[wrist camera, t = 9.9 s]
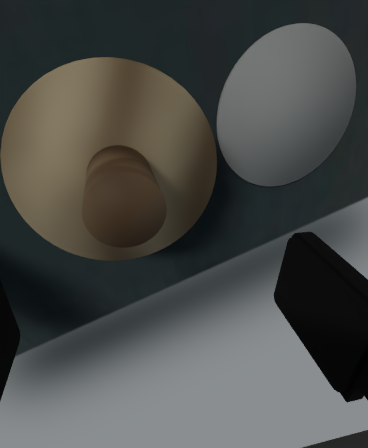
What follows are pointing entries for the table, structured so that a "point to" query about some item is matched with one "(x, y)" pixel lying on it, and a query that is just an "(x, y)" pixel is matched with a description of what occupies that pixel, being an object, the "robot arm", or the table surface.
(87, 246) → the lid
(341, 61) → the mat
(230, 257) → the table surface
